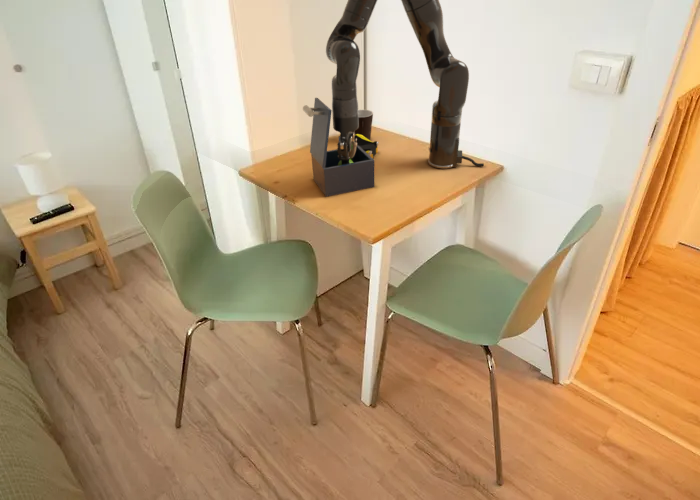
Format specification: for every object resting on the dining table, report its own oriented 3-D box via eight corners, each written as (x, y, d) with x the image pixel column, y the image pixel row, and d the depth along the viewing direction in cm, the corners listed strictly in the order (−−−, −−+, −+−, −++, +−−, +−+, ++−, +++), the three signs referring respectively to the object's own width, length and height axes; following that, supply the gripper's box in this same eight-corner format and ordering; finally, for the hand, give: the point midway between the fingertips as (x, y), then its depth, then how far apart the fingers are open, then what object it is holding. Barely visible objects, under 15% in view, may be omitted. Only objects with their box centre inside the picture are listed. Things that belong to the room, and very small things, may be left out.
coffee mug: (355, 134, 181) (354, 108, 175) (376, 136, 178) (376, 110, 172) (343, 145, 172) (342, 118, 166) (365, 147, 169) (365, 120, 163)
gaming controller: (341, 162, 159) (369, 166, 156) (340, 147, 156) (368, 150, 153) (355, 146, 170) (381, 149, 167) (354, 132, 167) (381, 134, 164)
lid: (317, 97, 135) (299, 96, 133) (331, 110, 125) (312, 109, 123) (312, 152, 143) (295, 152, 141) (325, 168, 133) (307, 168, 131)
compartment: (359, 171, 153) (358, 145, 148) (374, 187, 143) (374, 160, 138) (313, 179, 149) (311, 153, 144) (325, 197, 139) (324, 169, 134)
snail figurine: (356, 179, 142) (355, 142, 135) (336, 178, 143) (333, 141, 136) (359, 172, 146) (358, 135, 140) (339, 171, 148) (337, 134, 141)
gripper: (353, 121, 127) (355, 177, 137) (362, 105, 139) (363, 158, 148) (326, 120, 129) (330, 176, 138) (337, 104, 140) (340, 157, 150)
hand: (347, 166), depth 143 cm, fingers closed on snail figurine, 5 cm apart
